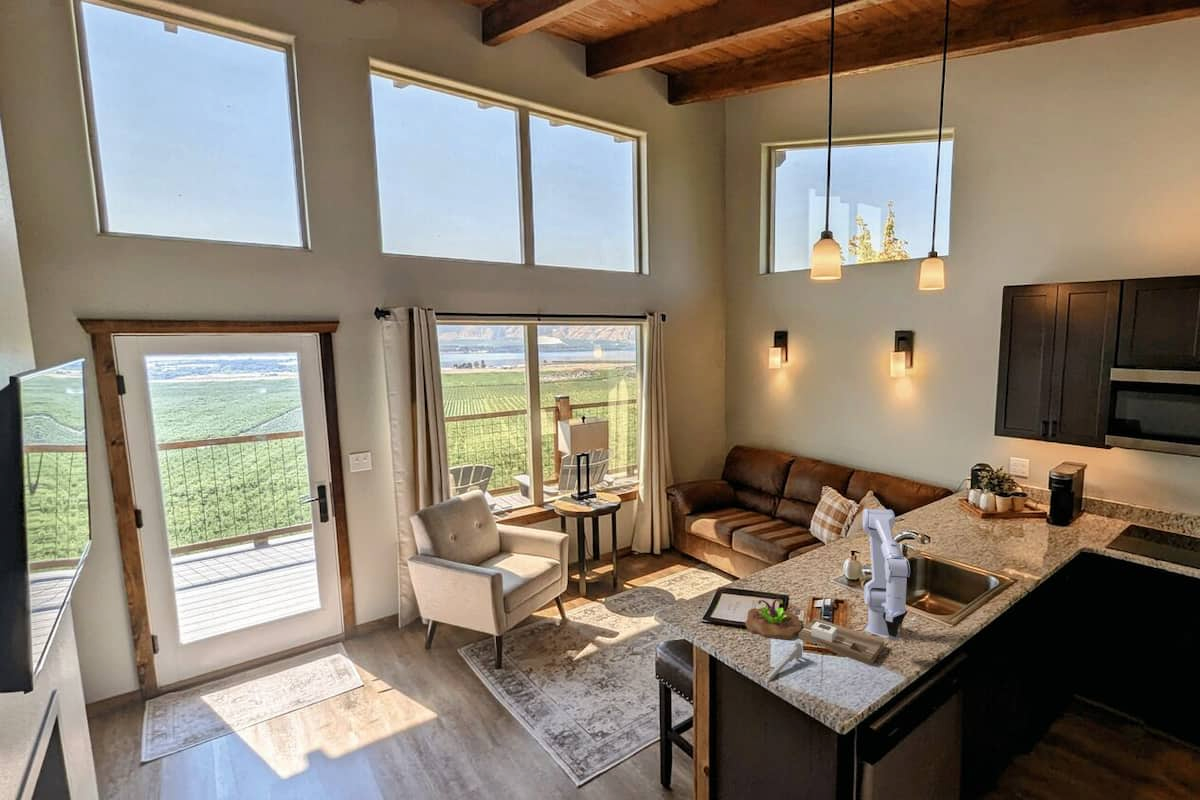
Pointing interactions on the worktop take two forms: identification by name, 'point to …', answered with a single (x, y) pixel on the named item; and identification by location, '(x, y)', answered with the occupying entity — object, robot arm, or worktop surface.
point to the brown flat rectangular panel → (846, 642)
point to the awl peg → (896, 636)
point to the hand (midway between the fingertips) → (894, 633)
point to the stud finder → (824, 631)
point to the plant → (773, 622)
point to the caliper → (786, 661)
